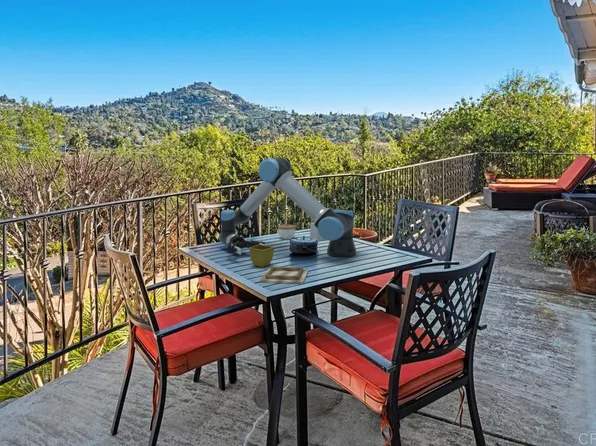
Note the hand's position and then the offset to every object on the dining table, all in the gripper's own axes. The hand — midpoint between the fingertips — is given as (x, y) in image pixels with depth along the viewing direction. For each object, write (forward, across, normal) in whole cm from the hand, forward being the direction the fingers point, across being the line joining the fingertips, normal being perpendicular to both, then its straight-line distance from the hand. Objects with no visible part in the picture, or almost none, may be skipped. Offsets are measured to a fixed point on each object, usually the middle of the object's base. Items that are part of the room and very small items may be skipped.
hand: (253, 250), depth 217 cm
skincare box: (-26, -57, -6) cm, 63 cm away
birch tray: (+30, 0, -6) cm, 31 cm away
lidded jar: (-39, -41, -6) cm, 57 cm away
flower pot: (+8, 0, -6) cm, 10 cm away
